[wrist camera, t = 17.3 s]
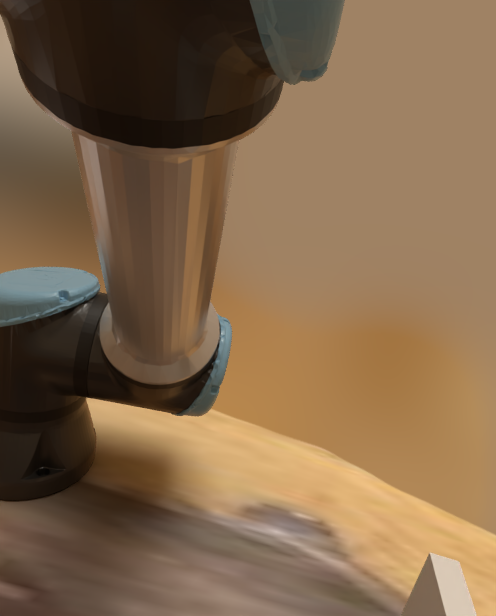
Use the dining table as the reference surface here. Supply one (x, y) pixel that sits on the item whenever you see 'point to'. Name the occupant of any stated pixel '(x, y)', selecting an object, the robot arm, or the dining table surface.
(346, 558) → the dining table surface
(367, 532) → the dining table surface
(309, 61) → the robot arm
